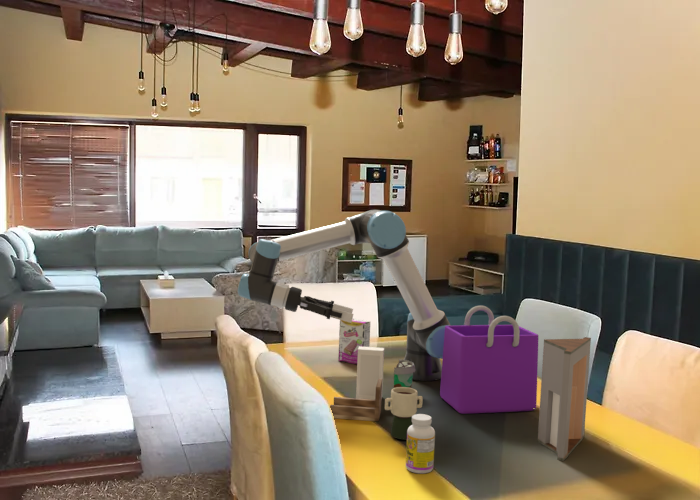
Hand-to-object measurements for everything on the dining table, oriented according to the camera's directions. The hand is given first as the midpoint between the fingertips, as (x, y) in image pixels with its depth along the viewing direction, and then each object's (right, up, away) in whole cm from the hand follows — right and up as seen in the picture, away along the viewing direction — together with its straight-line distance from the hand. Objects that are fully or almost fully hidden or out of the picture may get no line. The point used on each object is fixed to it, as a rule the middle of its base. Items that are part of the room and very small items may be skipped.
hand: (352, 315), depth 220 cm
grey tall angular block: (+55, -32, -33) cm, 71 cm away
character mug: (+13, -30, -32) cm, 46 cm away
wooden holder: (0, -28, -14) cm, 31 cm away
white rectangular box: (+5, -26, +2) cm, 27 cm away
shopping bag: (+42, -28, 0) cm, 51 cm away
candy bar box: (+1, -22, +46) cm, 51 cm away
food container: (+17, -27, +8) cm, 33 cm away
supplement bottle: (+16, -32, -52) cm, 63 cm away
